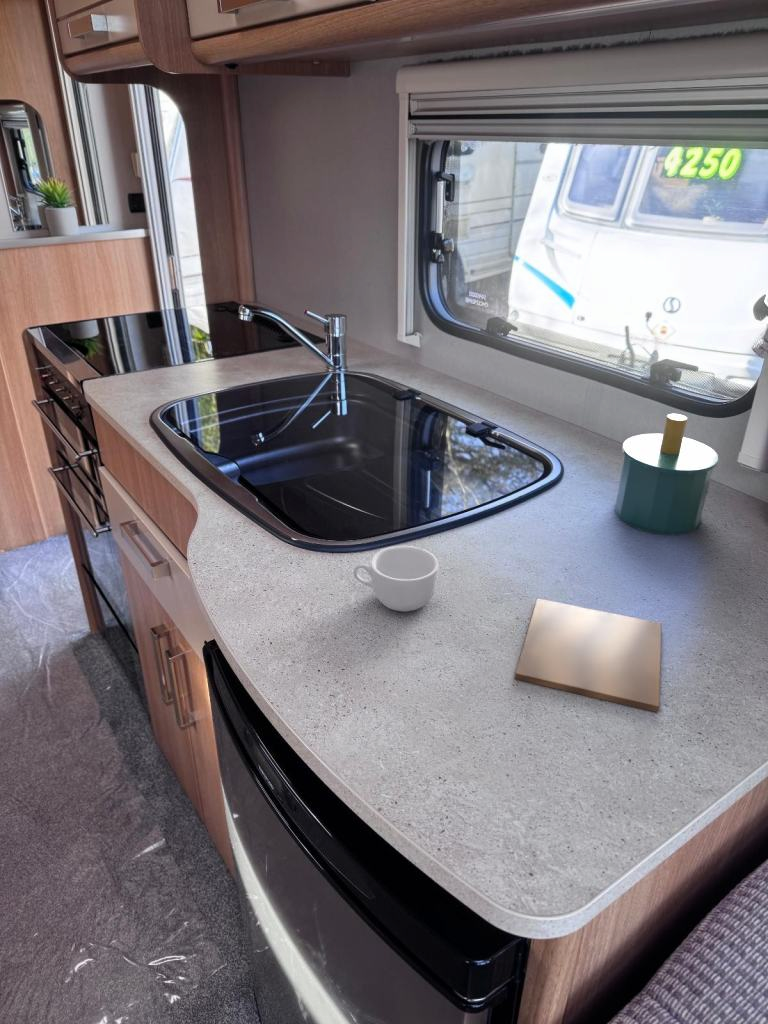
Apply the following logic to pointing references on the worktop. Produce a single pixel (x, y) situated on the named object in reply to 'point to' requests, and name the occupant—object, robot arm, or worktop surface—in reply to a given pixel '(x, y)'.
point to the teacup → (401, 577)
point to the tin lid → (671, 450)
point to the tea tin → (660, 499)
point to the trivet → (593, 654)
